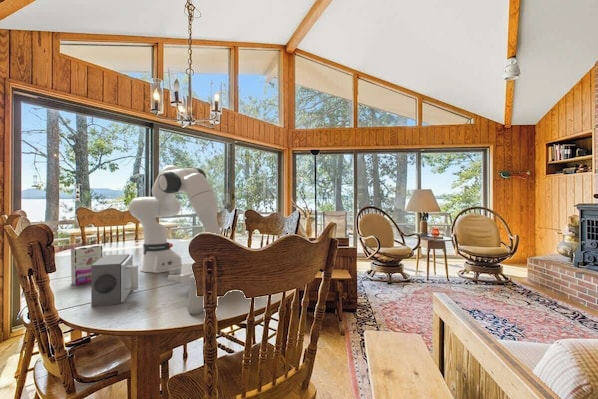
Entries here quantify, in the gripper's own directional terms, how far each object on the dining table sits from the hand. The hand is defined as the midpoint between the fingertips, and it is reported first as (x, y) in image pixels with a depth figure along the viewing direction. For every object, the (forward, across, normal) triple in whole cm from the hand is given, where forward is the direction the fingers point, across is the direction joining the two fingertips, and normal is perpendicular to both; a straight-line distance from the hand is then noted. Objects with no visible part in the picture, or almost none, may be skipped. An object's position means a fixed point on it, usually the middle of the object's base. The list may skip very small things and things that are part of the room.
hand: (168, 274), depth 119 cm
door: (+13, -6, +8) cm, 17 cm away
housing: (+21, -6, +9) cm, 23 cm away
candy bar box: (+36, -32, +9) cm, 49 cm away
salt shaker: (-10, +20, +9) cm, 24 cm away
